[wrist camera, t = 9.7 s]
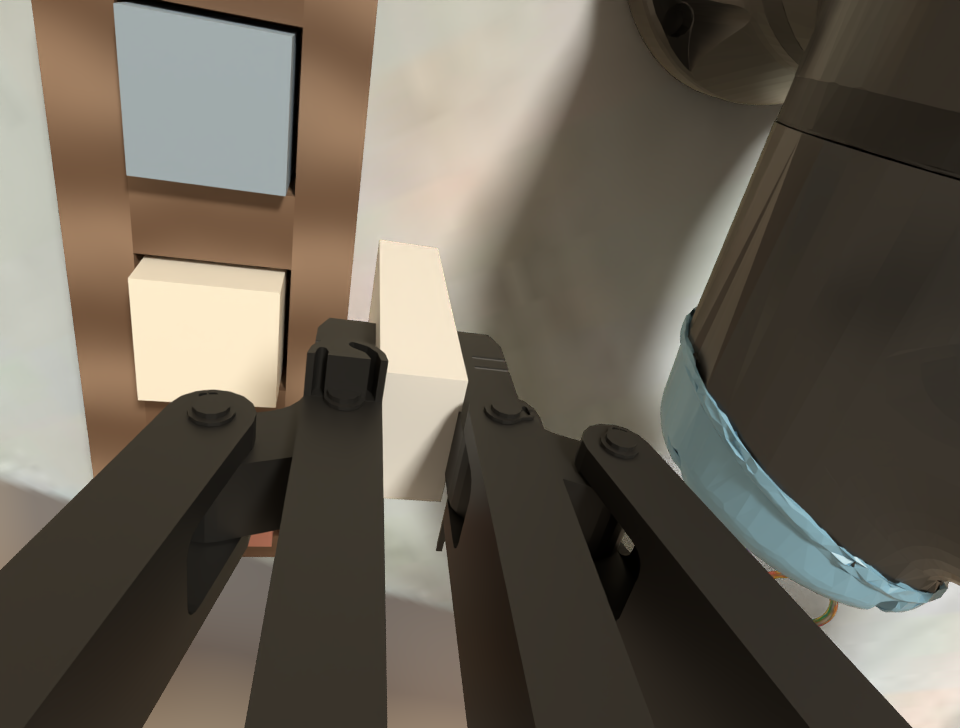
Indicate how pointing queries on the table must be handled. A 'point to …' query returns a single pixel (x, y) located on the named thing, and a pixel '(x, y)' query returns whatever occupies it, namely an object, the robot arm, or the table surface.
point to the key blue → (206, 97)
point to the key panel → (199, 196)
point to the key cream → (207, 328)
